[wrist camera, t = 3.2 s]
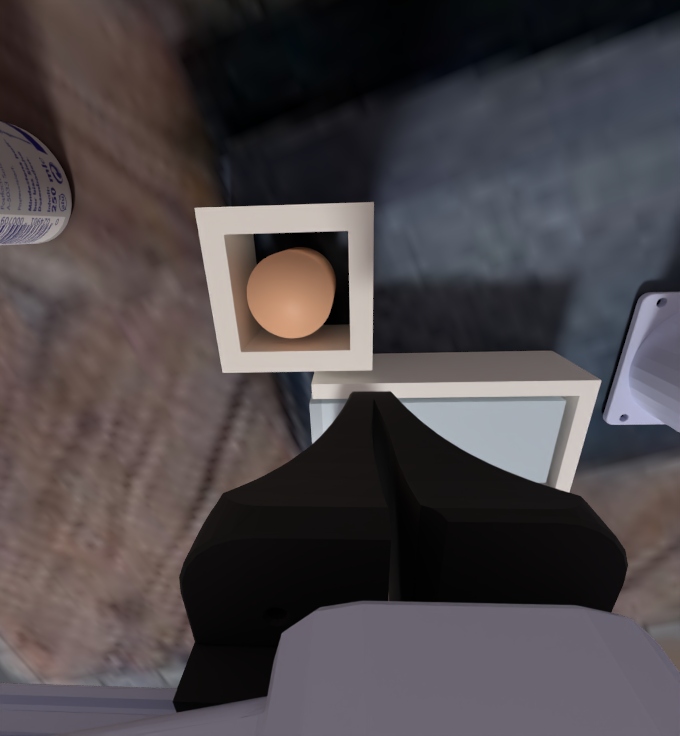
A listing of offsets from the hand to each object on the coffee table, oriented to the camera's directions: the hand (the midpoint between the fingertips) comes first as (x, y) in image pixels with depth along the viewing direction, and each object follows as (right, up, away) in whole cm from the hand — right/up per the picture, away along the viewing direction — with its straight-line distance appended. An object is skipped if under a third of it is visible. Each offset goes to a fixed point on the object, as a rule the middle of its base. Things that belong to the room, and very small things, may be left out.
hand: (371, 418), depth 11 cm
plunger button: (-3, +6, +7) cm, 10 cm away
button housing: (-3, +6, +8) cm, 10 cm away
